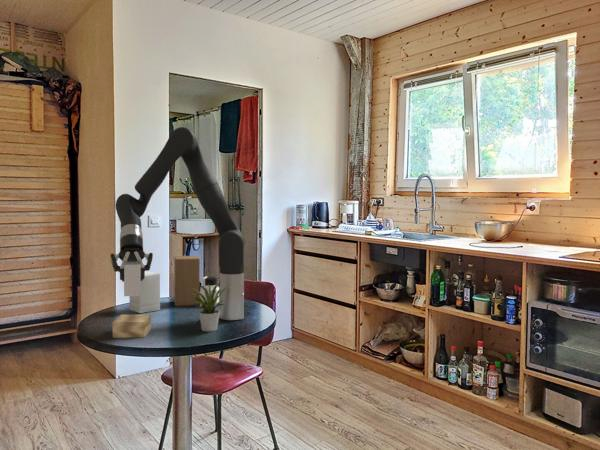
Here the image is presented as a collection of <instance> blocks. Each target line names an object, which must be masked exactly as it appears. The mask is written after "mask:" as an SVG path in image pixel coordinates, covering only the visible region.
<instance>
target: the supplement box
mask: <svg viewBox="0 0 600 450" xmlns="http://www.w3.org/2000/svg"><path fill="white" fill-rule="evenodd" d="M160 282H161V274H160V273H157V272H153V271H150V270H149V271H145V278H144V279H142V281H141V295H140V296H129V311H131V310H132V311H131V312H134V311H135V313H137V312H138V314H145V312H146V313H150V312H151V313H152V312H157V311H161V310H160V309H161V283H160Z"/></svg>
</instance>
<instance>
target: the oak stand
mask: <svg viewBox="0 0 600 450" xmlns="http://www.w3.org/2000/svg"><path fill="white" fill-rule="evenodd" d="M151 329H152V314H150V313H149V314H147V313H146V314H145V313H144V314H120V315H119V316H118V317H117V318H115V320H113V321H112V338H115V339H117V338H118V339H119V338H146V337H147V335H148V334H149V332H150V331H151Z"/></svg>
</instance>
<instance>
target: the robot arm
mask: <svg viewBox="0 0 600 450" xmlns="http://www.w3.org/2000/svg"><path fill="white" fill-rule="evenodd" d="M202 152H203V151H202V149H201V147H200V143H199V140H198V136H196V134H195V133H194V132H193V131H192V130H191V129H190V128H188V127H185V126H180V127H177V128H175V129H174V130H172V132H171V134H170V135H169V137H168V139H167V141H166V143H165V145H164V146H163V148H162V149H161V151H160V153H159V154H158V156H157V157H156V158H155V160H154V161H153V162H152V163H151V165H150V166H149V167H148V169H146V171H145V173H143V174H142V176H141V177H140V179H138V181H137V182H136V183H135V185H134V189H135V192H136V193H138V195H139V198H138V199H137V198H136V197H134V196H132V195H131V194H129V193H122V194H121V195H119V196H118V197H117V199H116V202H115V210H116V213H117V217H118V220H119V221H120V233H119V252H118V253H117V254H114V253H110V262H111V265H112V268H113V271H114V272H115V273H116V272H118V273H119V280H120V281H122V282H123V283H124V261H127V260H140V261H141V277H140V278H141V281H142V279H144V278H145V272H148V271H149V272H150V269H151V266H152V261H153V255H154V253H152V252H150V253H145V251H144V238H143V231H142V220H141V217H143V215H144V214H145V212H146V209H147V207H148V205H149V203H150V200H151V198H152V197H153V195H154V194H155V192H156V191H157V190H158V189H159V188H160V187H161V185H162V184H163V182H164V181H165V179H166V177H167V176H168V174H169V172H170V170H171V168H172V167H173V166H174V164H175V163H176V162H177V161H178V160H179V159H180V158H181V160H182V161H183V162H184V164H185V166H186V168H187V170H188V173H189V179H190V182H191V185H192V188H193V191H194V194H195V195H196V197H197V199H198V202H199V204H200V205H201V206H202V208H203V210H204V212H205V213H206V214H207V216H208V217H209V218H210V220H211V221H212V222H213V224H214V227H215V229H216V231H217V234H218V236H219V241H218V269H219V283H218V287H219V289H221V288H222V289H221V290H220V293H221V291H222V290H223V289H225V288H227V287H229V288H227V289H225V290H224V292H223V293H222V294H221V295H220V296H219V302H220V301H222V300H223V302H220V303H219V304H225V305H219V306H218V308H219V309H218V310H219V311H220V314H219V319H220V320H223V321H239V320H244V319H245V318H244V317H245V315H244V313H245V310H244V309H245V305H244V304H245V263H244V262H245V261H244V259H245V258H244V254H245V253H244V251H245V249H244V248H245V246H246V245H245V244H246V240H245V237H244V235H243V233H242V232H241V230H240V229H239V227H238V225H237V224H236V222H235V220H234V219H233V217H232V214H231V211H230V209H229V205H228V204H227V200H226V199H225V196H224V194H223V192H222V189H221V186H220V185H219V183H218V180H217V179H216V177H215V175H214V174H213V172H212V170H211V168H210V166H209V165H208V163H207V161H206V160H205V157H204V155H203V153H202ZM144 258H145V260H146V261H147V262H146V264H144V263H143V260H144ZM119 259H120V261H121V264H120V265H118V260H119ZM220 293H219V294H220ZM225 301H226V302H225Z"/></svg>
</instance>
